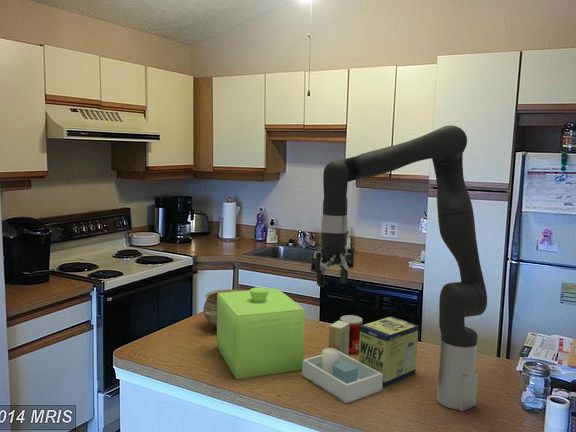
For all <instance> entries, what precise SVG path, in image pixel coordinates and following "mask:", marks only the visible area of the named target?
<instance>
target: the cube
mask: <svg viewBox="0 0 576 432" xmlns="http://www.w3.org/2000/svg"><path fill="white" fill-rule="evenodd" d="M333 376H334V377H336V378H338V379H339V380H341V381H343V382H345V383H346V384H348V383H351V382H354V381H357V377H358V368H357V367H355V366H353V365H352V364H350V363H348V362H343V363H340V364H336V365H333Z"/></svg>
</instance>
